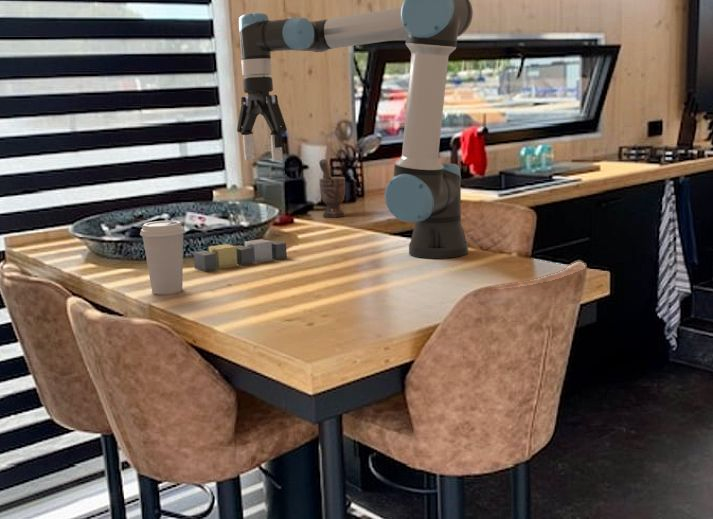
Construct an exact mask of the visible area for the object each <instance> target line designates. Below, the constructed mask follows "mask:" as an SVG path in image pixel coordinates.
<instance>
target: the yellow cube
mask: <svg viewBox="0 0 713 519" xmlns="http://www.w3.org/2000/svg"><path fill="white" fill-rule="evenodd" d="M236 246H237V245H232V244H228V243H226V244H218V245H212V246H208V252H211V253H215V254H216V268H217V270H218V269H219V270H221V269H227V268H228V269H229V268H234V267H238V264H237V251H236Z"/></svg>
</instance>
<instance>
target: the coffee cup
mask: <svg viewBox="0 0 713 519" xmlns="http://www.w3.org/2000/svg"><path fill="white" fill-rule="evenodd" d="M185 232H186V230H185V228H184V226H183V224H182V222H181V221H178V220H158V221H157V220H156V221H151V222H145V223H144V224H143V225H142V228H141V229H140V233H139V235H140V236H141V237H142V241H143V242H142V243H143V248H144V252H145V257H146V264H147V271H148V274H149V281H150V287H151V293H152V294H154V295H159V296H160V295H163V296H164V295H165V296H166V295H173V294H177V293H180V292H182V291H183V286H184V285H183V278H184V277H183V276H184V274H183V272H184V271H183V267H184V266H183V265H184V262H183V261H184V234H185Z"/></svg>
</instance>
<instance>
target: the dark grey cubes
mask: <svg viewBox="0 0 713 519" xmlns="http://www.w3.org/2000/svg"><path fill="white" fill-rule="evenodd" d="M270 241H271V245H272V260H276V261H279V260H284V259H287V252H288V251H287V243H286V242H284V241H280V240H279V241H278V240H276V239H275V240H273V239H272V240H270ZM235 246H236V251H237V266H238V265H239V266H249V265H253V261H252V248H249V247H245V245H241V244H239V245H235ZM193 263H194V269H197V270H199V271H203V272H211V271H218V268H216V254H215V253H211V252H209V250H208V251H207V250H198V251H193Z"/></svg>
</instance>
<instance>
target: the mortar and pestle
mask: <svg viewBox="0 0 713 519" xmlns="http://www.w3.org/2000/svg"><path fill="white" fill-rule="evenodd" d="M319 168H320V170H321V171H322V173H323V176H324V177H322V178H319V192H320V193H319V194H320V197H321V199H322V202H323V203H324V204H325V205H326V209H325V211H324V213H323V214H322V216H323V217H324V218H330V219H334V218H335V219H336V218H342V217H345V216H346V213H345V211H344V209H342V207H341V204H342V203H343V201H345V195H346V178H345V177H344V176H332V175H331V174H332V173H331V170H330V164H329V162H328V160H327V159H326V158H325V159H323V158H322V159H321V160H319Z"/></svg>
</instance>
